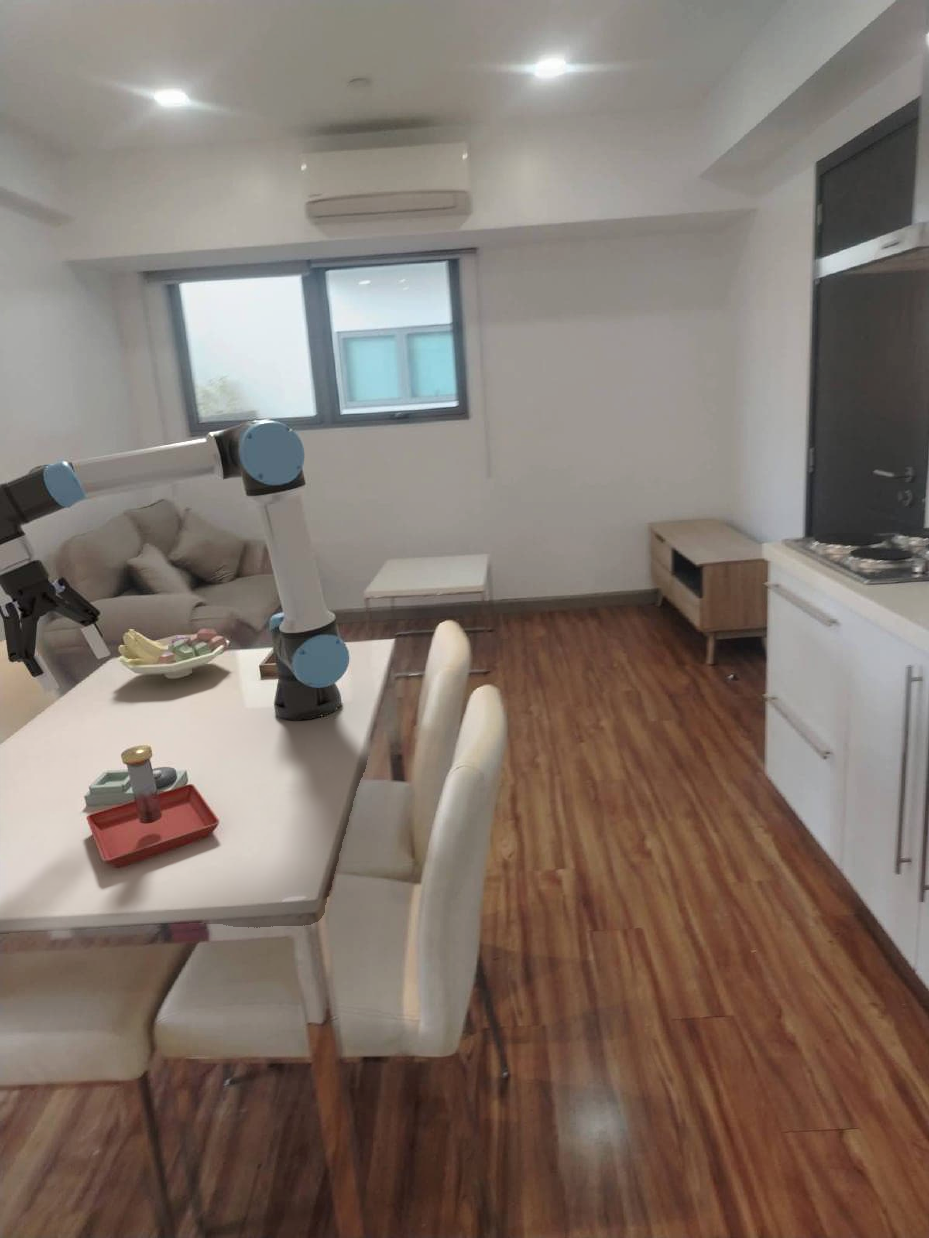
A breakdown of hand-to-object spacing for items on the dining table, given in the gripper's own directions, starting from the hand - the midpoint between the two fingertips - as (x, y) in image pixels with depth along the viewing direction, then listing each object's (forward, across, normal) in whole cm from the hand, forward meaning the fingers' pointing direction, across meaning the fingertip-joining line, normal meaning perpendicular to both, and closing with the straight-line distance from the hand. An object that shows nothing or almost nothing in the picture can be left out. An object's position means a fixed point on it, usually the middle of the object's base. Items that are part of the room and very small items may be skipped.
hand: (79, 672), depth 143 cm
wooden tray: (+30, -69, -5) cm, 75 cm away
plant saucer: (+28, +15, +12) cm, 34 cm away
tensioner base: (+25, +2, 0) cm, 25 cm away
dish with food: (+21, -58, -34) cm, 71 cm away
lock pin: (+24, +14, +13) cm, 31 cm away
